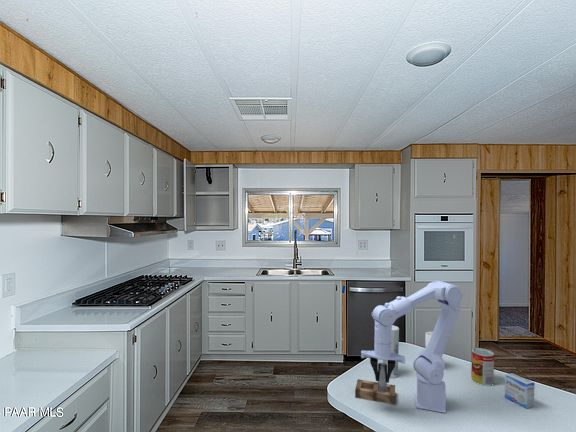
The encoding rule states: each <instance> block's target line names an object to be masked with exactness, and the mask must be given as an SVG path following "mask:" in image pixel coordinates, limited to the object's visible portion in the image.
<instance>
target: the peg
mask: <svg viewBox="0 0 576 432" xmlns="http://www.w3.org/2000/svg"><path fill="white" fill-rule="evenodd" d="M377 382H378V391H379V392H381V393H386V392H387V384H388V383H387V364H385V363H383V362H378V381H377Z"/></svg>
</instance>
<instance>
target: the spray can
mask: <svg viewBox="0 0 576 432" xmlns="http://www.w3.org/2000/svg"><path fill="white" fill-rule="evenodd" d="M399 342H400V328H399V327H398V326H396V325H394V324H393V325H392V346H391V353H394V354H397V355H399V353H400V352H399V349H400V348H399V345H400V343H399ZM382 363H385V364H387V371H388V361H386V360H382ZM398 376H399V362H395V367H394V369H393V371H392V373H391V375H390V379H395V378H397V377H398Z"/></svg>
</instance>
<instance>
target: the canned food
mask: <svg viewBox="0 0 576 432" xmlns="http://www.w3.org/2000/svg"><path fill="white" fill-rule="evenodd" d="M494 373H495V353H494V352H493V351H491V350H489V349H485V348H481V347H475V348H472V349H471V375H470V376H471V378H472V379H471V381H472V380H473V381H472V382H473V383H475V382H476V384H477V383H479V384H478V385H480V384H482V385H481V386H484V385H491V386H493V385H494V384H493V383H494V382H495V381H494V380H495V379H494V378H495V374H494ZM492 384H493V385H492Z"/></svg>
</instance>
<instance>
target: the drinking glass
mask: <svg viewBox="0 0 576 432" xmlns="http://www.w3.org/2000/svg"><path fill="white" fill-rule="evenodd" d="M432 333H433V331H426V332H425V336H424V339H425V340H424V344H425V345H424V346H425V349H426V348H427V346H428V343H429V341H430V338H431V336H432Z"/></svg>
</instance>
